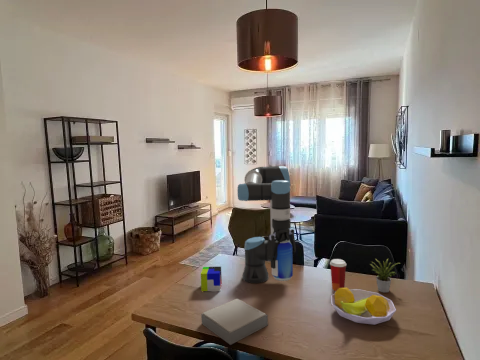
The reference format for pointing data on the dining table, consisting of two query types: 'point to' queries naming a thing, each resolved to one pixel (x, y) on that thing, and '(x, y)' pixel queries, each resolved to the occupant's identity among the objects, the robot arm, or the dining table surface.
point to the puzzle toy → (211, 279)
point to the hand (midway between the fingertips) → (282, 272)
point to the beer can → (284, 261)
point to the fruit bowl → (362, 306)
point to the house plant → (383, 276)
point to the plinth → (234, 320)
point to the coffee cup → (338, 273)
